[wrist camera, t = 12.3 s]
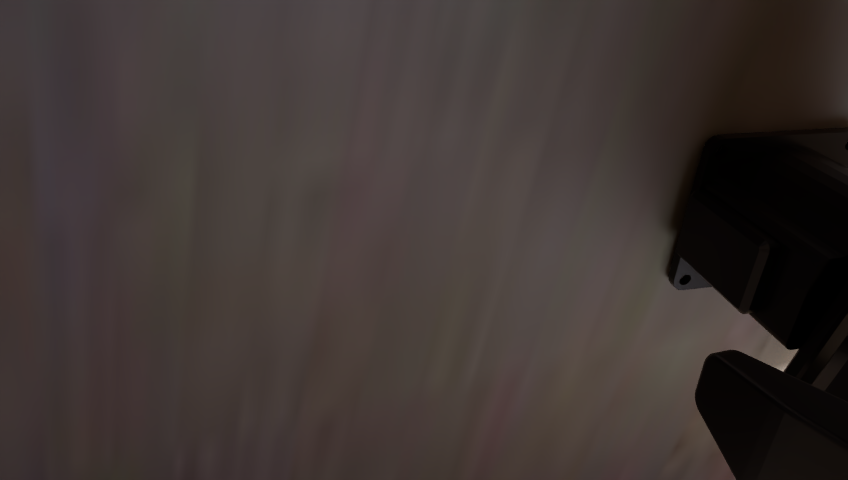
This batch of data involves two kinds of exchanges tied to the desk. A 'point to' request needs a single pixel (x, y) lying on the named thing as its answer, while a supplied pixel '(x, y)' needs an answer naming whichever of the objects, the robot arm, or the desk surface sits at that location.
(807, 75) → the desk surface
